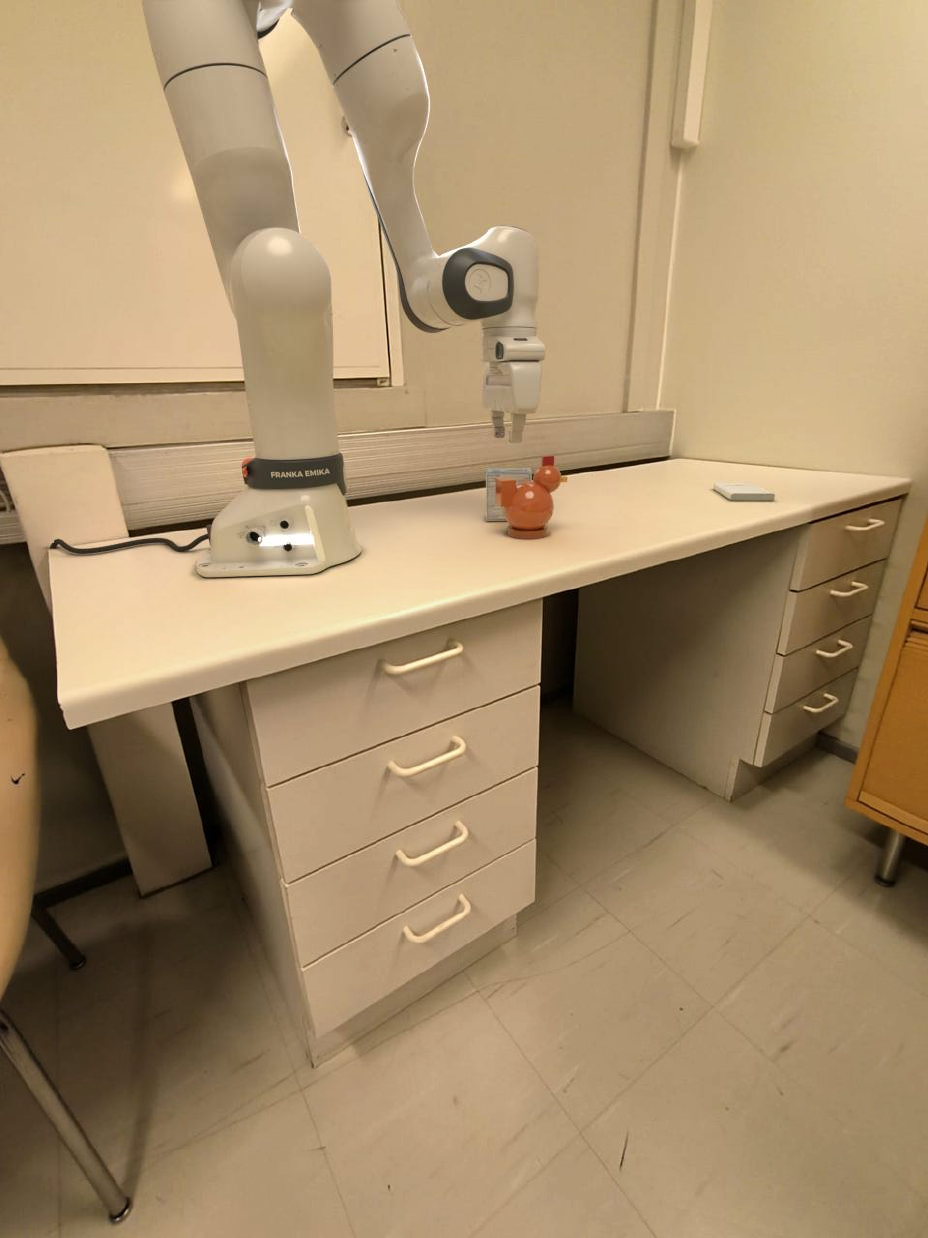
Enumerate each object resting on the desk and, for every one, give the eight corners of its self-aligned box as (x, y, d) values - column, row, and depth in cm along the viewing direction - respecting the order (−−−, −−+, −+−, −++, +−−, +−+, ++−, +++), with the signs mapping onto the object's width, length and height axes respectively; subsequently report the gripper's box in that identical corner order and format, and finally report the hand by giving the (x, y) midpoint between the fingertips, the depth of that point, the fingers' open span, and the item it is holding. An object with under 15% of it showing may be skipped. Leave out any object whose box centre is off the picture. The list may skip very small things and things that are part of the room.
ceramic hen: (505, 542, 87) (506, 461, 82) (491, 530, 94) (491, 455, 89) (573, 536, 89) (577, 457, 84) (554, 525, 96) (557, 451, 91)
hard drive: (729, 501, 111) (712, 489, 122) (773, 501, 110) (752, 489, 121) (731, 493, 110) (713, 482, 122) (775, 493, 109) (754, 482, 120)
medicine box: (530, 516, 103) (531, 467, 99) (530, 521, 99) (532, 471, 95) (487, 516, 103) (486, 467, 100) (485, 521, 99) (485, 471, 96)
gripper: (473, 353, 99) (473, 435, 104) (508, 346, 80) (506, 446, 86) (508, 353, 100) (506, 434, 105) (550, 346, 82) (545, 445, 87)
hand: (506, 440), depth 95 cm, fingers open, 8 cm apart
